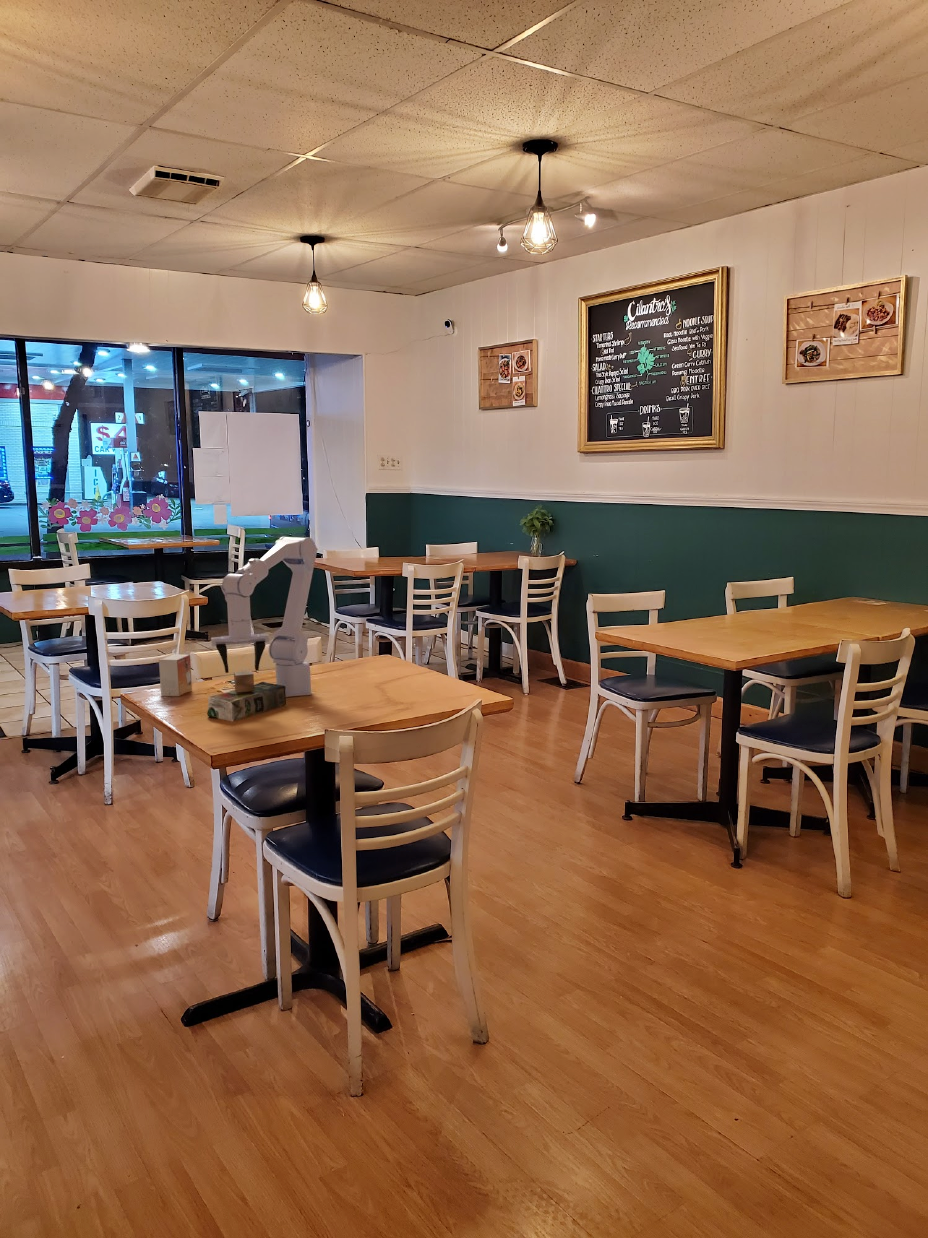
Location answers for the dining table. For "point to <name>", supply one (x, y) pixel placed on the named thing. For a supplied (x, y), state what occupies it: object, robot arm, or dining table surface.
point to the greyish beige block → (244, 681)
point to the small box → (175, 675)
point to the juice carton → (246, 702)
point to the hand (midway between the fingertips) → (241, 670)
